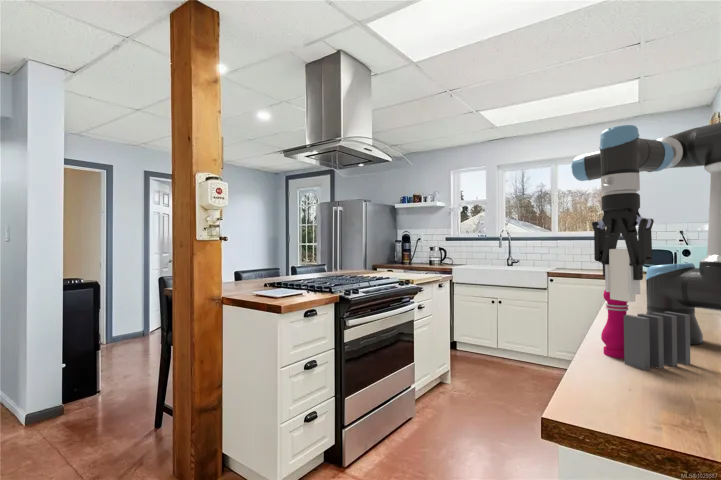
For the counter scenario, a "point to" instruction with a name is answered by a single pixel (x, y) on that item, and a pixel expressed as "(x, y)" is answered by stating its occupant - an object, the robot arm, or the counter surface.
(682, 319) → the domino
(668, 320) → the domino
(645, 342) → the domino
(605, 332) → the pepper mill
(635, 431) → the counter surface
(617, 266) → the white domino
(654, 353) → the domino
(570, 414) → the counter surface
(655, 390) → the counter surface
